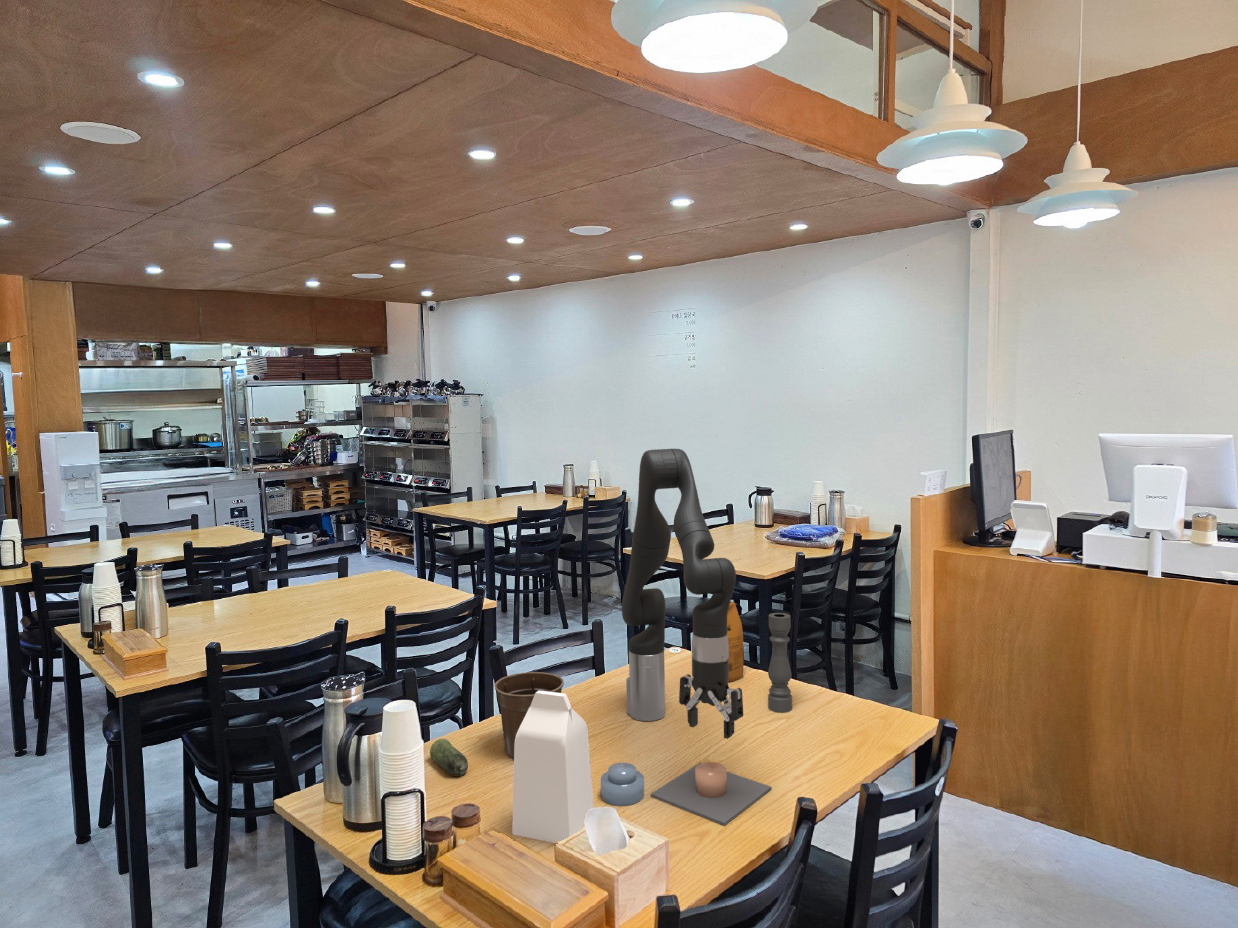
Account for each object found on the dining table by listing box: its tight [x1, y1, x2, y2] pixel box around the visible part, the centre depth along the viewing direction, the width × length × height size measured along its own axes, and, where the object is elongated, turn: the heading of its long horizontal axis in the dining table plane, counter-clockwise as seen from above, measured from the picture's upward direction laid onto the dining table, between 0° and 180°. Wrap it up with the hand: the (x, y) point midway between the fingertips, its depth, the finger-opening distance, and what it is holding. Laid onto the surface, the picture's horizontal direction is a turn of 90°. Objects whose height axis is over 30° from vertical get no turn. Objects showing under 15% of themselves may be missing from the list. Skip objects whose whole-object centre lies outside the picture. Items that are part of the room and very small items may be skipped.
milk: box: [511, 691, 595, 844], centre depth 148 cm, size 12×12×26 cm
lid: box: [695, 761, 727, 798], centre depth 159 cm, size 6×6×4 cm
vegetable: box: [429, 738, 469, 777], centre depth 173 cm, size 14×5×5 cm, turn 36°
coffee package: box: [727, 601, 744, 683], centre depth 227 cm, size 10×12×22 cm
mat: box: [650, 761, 772, 827], centre depth 159 cm, size 18×18×1 cm
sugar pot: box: [600, 762, 645, 807], centre depth 159 cm, size 9×9×6 cm
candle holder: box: [767, 612, 793, 714], centre depth 203 cm, size 6×6×25 cm
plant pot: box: [494, 671, 565, 759], centre depth 181 cm, size 16×16×16 cm
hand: (710, 731), depth 159 cm, fingers open, 8 cm apart
